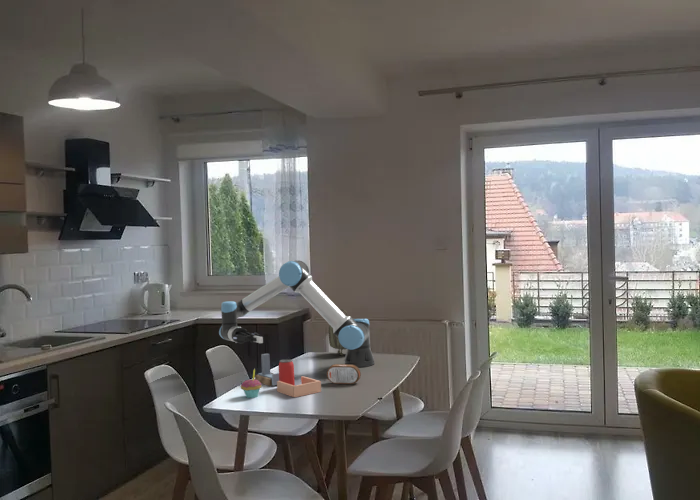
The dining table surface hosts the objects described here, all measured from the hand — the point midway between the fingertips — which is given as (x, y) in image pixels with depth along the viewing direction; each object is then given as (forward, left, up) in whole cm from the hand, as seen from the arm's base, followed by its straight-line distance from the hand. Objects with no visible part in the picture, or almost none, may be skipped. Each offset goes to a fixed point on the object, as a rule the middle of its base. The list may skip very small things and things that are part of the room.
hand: (261, 340), depth 293 cm
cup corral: (-22, +22, -19) cm, 36 cm away
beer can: (-15, +15, -19) cm, 29 cm away
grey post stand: (-5, +5, -19) cm, 20 cm away
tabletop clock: (-27, -61, -19) cm, 70 cm away
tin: (-39, +8, -19) cm, 44 cm away
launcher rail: (-5, +5, -19) cm, 20 cm away
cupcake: (-4, +30, -19) cm, 35 cm away
